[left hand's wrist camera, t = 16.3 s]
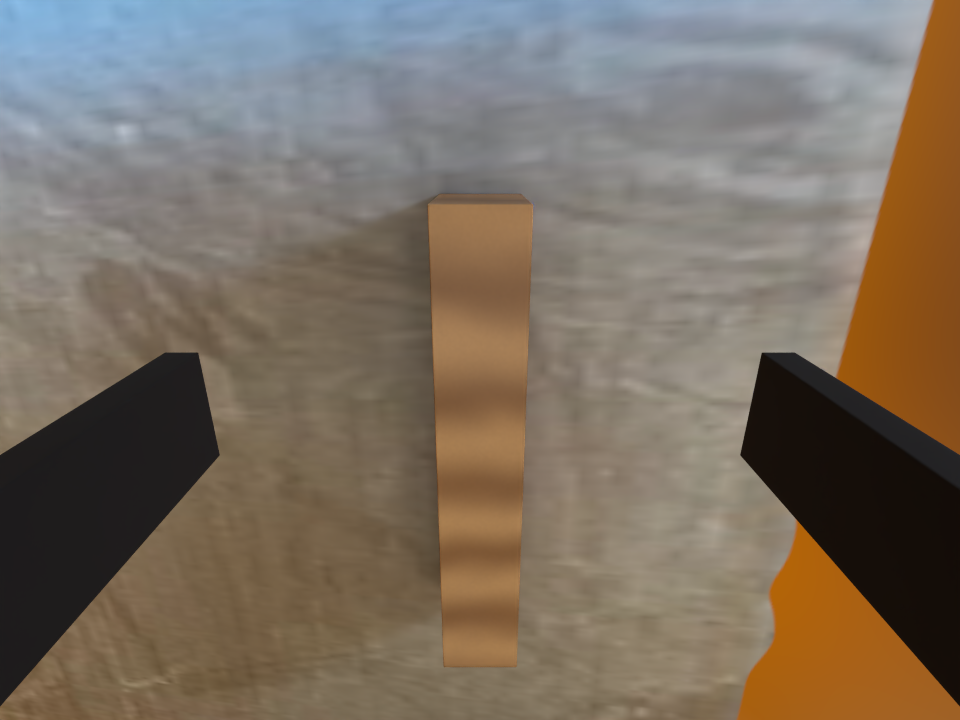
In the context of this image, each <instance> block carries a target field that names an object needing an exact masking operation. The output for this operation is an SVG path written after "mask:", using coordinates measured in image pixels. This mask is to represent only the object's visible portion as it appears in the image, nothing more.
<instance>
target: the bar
mask: <svg viewBox="0 0 960 720" xmlns="http://www.w3.org/2000/svg"><path fill="white" fill-rule="evenodd" d="M532 224H533V204H532V203H531V202H530V201H528V200H527V199H526V198H525V197H524V196H523V195H522V194H439V195H438V196H437V197H435V198H434V199H433V200H432V201H431V202H430V203H429V204H428V231H429V259H430V288H431V317H432V345H433V374H434V403H435V431H436V460H437V488H438V517H439V546H440V574H441V603H442V632H443V660H444V667H516V666H517V639H518V611H519V584H520V556H521V528H522V501H523V473H524V445H525V418H526V390H527V362H528V335H529V307H530V279H531V252H532Z"/></svg>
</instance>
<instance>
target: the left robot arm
mask: <svg viewBox="0 0 960 720" xmlns="http://www.w3.org/2000/svg"><path fill="white" fill-rule="evenodd" d="M219 455H220V454H219V450H218V445H217V440H216V435H215V431H214V426H213V421H212V416H211V412H210V407H209V402H208V397H207V393H206V388H205V383H204V378H203V374H202V369H201V364H200V359H199V355H198V353H164V354H162V355H161V356H159V357H157V358H156V359H154V360H153V361H151V362H149V363H148V364H146V365H145V366H143V367H141V368H140V369H138V370H137V371H135V372H133V373H132V374H130V375H128V376H127V377H125V378H124V379H122V380H120V381H119V382H117V383H116V384H114V385H112V386H111V387H109V388H108V389H106V390H104V391H103V392H101V393H99V394H98V395H96V396H95V397H93V398H91V399H90V400H88V401H87V402H85V403H83V404H82V405H80V406H79V407H77V408H75V409H74V410H72V411H70V412H69V413H67V414H66V415H64V416H62V417H61V418H59V419H58V420H56V421H54V422H53V423H51V424H50V425H48V426H46V427H45V428H43V429H41V430H40V431H38V432H37V433H35V434H33V435H32V436H30V437H29V438H27V439H25V440H24V441H22V442H21V443H19V444H17V445H16V446H14V447H12V448H11V449H9V450H8V451H6V452H4V453H3V454H1V455H0V706H1V705H2V704H3V702H4V701H5V700H6V699H7V698H8V697H9V696H10V694H11V693H12V692H13V691H14V690H15V689H16V688H17V686H18V685H19V684H20V683H21V682H22V681H23V680H24V678H25V677H26V676H27V675H28V674H29V673H30V672H31V670H32V669H33V668H34V667H35V666H36V665H37V664H38V662H39V661H40V660H41V659H42V658H43V657H44V656H45V654H46V653H47V652H48V651H49V650H50V649H51V648H52V646H53V645H54V644H55V643H56V642H57V641H58V640H59V638H60V637H61V636H62V635H63V634H64V633H65V632H66V630H67V629H68V628H69V627H70V626H71V625H72V624H73V622H74V621H75V620H76V619H77V618H78V617H79V616H80V614H81V613H82V612H83V611H84V610H85V609H86V608H87V606H88V605H89V604H90V603H91V602H92V601H93V599H94V598H95V597H96V596H97V595H98V594H99V593H100V591H101V590H102V589H103V588H104V587H105V586H106V585H107V583H108V582H109V581H110V580H111V579H112V578H113V577H114V575H115V574H116V573H117V572H118V571H119V570H120V569H121V567H122V566H123V565H124V564H125V563H126V562H127V561H128V559H129V558H130V557H131V556H132V555H133V554H134V553H135V551H136V550H137V549H138V548H139V547H140V546H141V545H142V543H143V542H144V541H145V540H146V539H147V538H148V537H149V535H150V534H151V533H152V532H153V531H154V530H155V529H156V527H157V526H158V525H159V524H160V523H161V522H162V521H163V519H164V518H165V517H166V516H167V515H168V514H169V513H170V511H171V510H172V509H173V508H174V507H175V506H176V505H177V503H178V502H179V501H180V500H181V499H182V498H183V497H184V495H185V494H186V493H187V492H188V491H189V490H190V489H191V487H192V486H193V485H194V484H195V483H196V482H197V481H198V479H199V478H200V477H201V476H202V475H203V474H204V473H205V471H206V470H207V469H208V468H209V467H210V466H211V464H212V463H213V462H214V461H215V460H216V459H217V458H218V456H219ZM740 455H741V456H742V458H743V459H744V460H745V461H746V462H747V463H748V464H749V466H750V467H751V468H752V469H753V470H754V471H755V473H756V474H757V475H758V476H759V477H760V478H761V479H762V481H763V482H764V483H765V484H766V485H767V486H768V487H769V489H770V490H771V491H772V492H773V493H774V494H775V495H776V497H777V498H778V499H779V500H780V501H781V502H782V503H783V505H784V506H785V507H786V508H787V509H788V510H789V511H790V513H791V514H792V515H793V516H794V517H795V518H796V519H797V521H798V522H799V523H800V524H801V525H802V526H803V527H804V529H805V530H806V531H807V532H808V533H809V534H810V535H811V537H812V538H813V539H814V540H815V541H816V542H817V543H818V545H819V546H820V547H821V548H822V549H823V550H824V551H825V553H826V554H827V555H828V556H829V557H830V558H831V559H832V561H833V562H834V563H835V564H836V565H837V566H838V567H839V569H840V570H841V571H842V572H843V573H844V574H845V575H846V577H847V578H848V579H849V580H850V581H851V582H852V583H853V585H854V586H855V587H856V588H857V589H858V590H859V591H860V593H861V594H862V595H863V596H864V597H865V598H866V599H867V601H868V602H869V603H870V604H871V605H872V606H873V608H874V609H875V610H876V611H877V612H878V613H879V614H880V616H881V617H882V618H883V619H884V620H885V621H886V622H887V624H888V625H889V626H890V627H891V628H892V629H893V630H894V632H895V633H896V634H897V635H898V636H899V637H900V638H901V640H902V641H903V642H904V643H905V644H906V645H907V646H908V648H909V649H910V650H911V651H912V652H913V653H914V654H915V656H916V657H917V658H918V659H919V660H920V661H921V662H922V663H923V665H924V666H925V667H926V668H927V669H928V670H929V672H930V673H931V674H932V675H933V676H934V677H935V678H936V680H937V681H938V682H939V683H940V684H941V685H942V686H943V688H944V689H945V690H946V691H947V692H948V693H949V694H950V696H951V697H952V698H953V699H954V700H955V701H956V702H957V704H958V705H959V706H960V455H959V454H957V453H956V452H954V451H952V450H951V449H949V448H948V447H946V446H944V445H943V444H941V443H939V442H938V441H936V440H935V439H933V438H931V437H930V436H928V435H927V434H925V433H923V432H922V431H920V430H918V429H917V428H915V427H914V426H912V425H910V424H909V423H907V422H906V421H904V420H902V419H901V418H899V417H898V416H896V415H894V414H893V413H891V412H889V411H888V410H886V409H885V408H883V407H881V406H880V405H878V404H877V403H875V402H873V401H872V400H870V399H869V398H867V397H865V396H864V395H862V394H860V393H859V392H857V391H856V390H854V389H852V388H851V387H849V386H848V385H846V384H844V383H843V382H841V381H840V380H838V379H836V378H835V377H833V376H832V375H830V374H828V373H827V372H825V371H823V370H822V369H820V368H819V367H817V366H815V365H814V364H812V363H811V362H809V361H807V360H806V359H804V358H803V357H801V356H799V355H798V354H796V353H762V355H761V359H760V364H759V369H758V374H757V378H756V383H755V388H754V393H753V397H752V402H751V407H750V412H749V416H748V421H747V426H746V431H745V435H744V440H743V445H742V450H741V454H740Z"/></svg>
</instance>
